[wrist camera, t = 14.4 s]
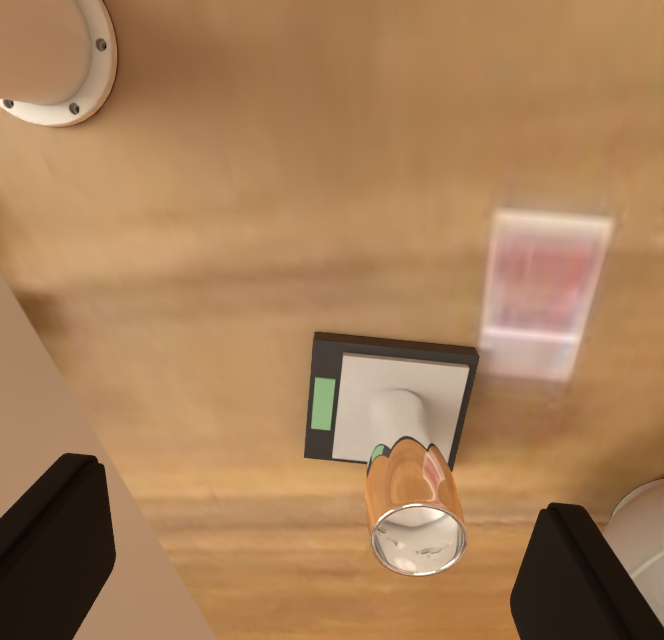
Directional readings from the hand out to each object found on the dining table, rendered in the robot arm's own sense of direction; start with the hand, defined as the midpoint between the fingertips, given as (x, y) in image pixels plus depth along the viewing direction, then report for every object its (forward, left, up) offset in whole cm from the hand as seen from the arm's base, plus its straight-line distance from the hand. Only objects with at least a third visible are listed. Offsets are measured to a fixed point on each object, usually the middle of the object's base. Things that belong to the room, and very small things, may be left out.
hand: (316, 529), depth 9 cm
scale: (+6, -16, -32) cm, 37 cm away
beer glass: (+7, -16, -30) cm, 34 cm away
